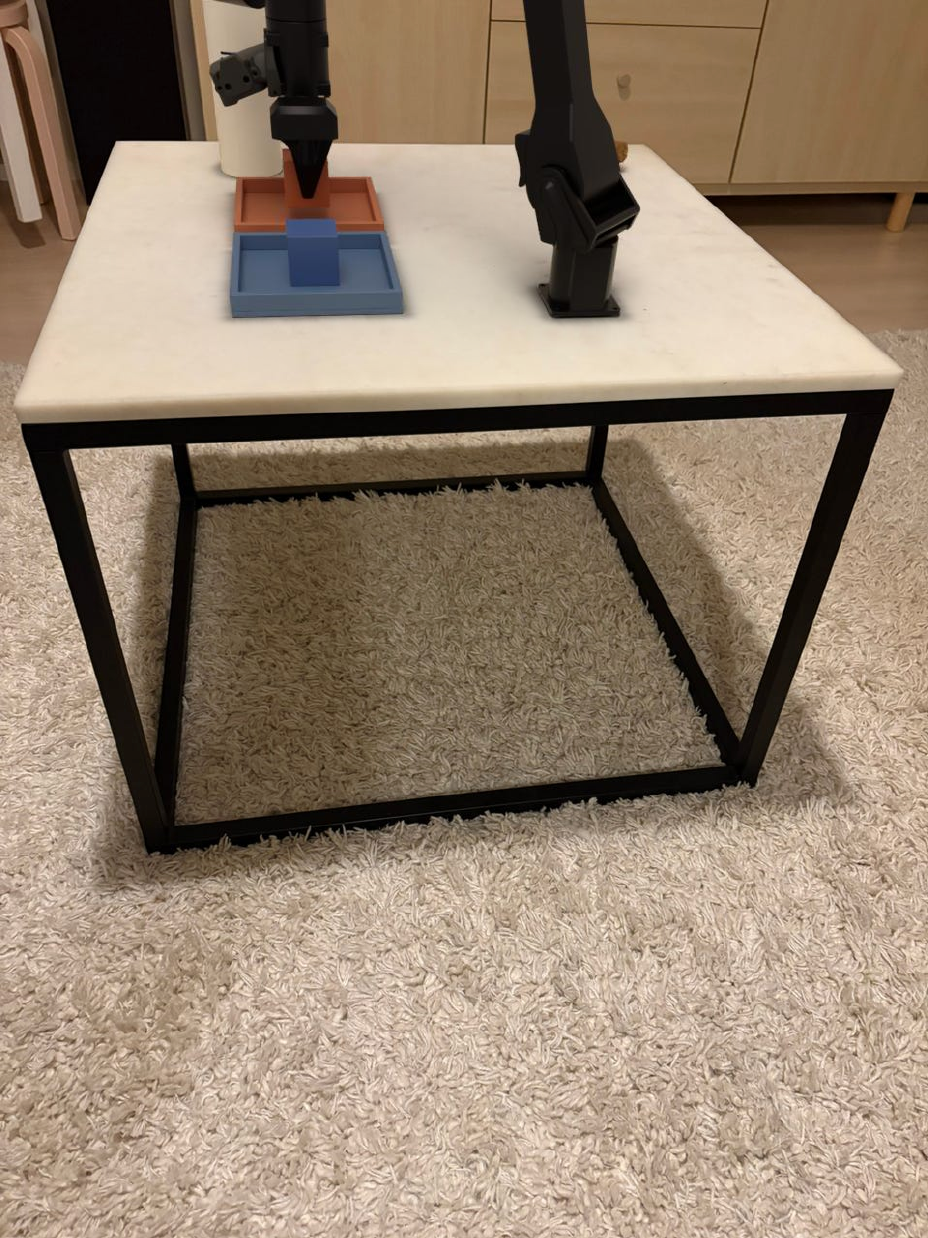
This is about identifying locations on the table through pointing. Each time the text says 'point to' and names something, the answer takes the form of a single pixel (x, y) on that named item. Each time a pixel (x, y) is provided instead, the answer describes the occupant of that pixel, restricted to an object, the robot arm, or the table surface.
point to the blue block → (313, 252)
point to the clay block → (293, 189)
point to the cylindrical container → (249, 119)
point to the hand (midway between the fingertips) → (306, 190)
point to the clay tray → (267, 211)
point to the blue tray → (268, 290)
